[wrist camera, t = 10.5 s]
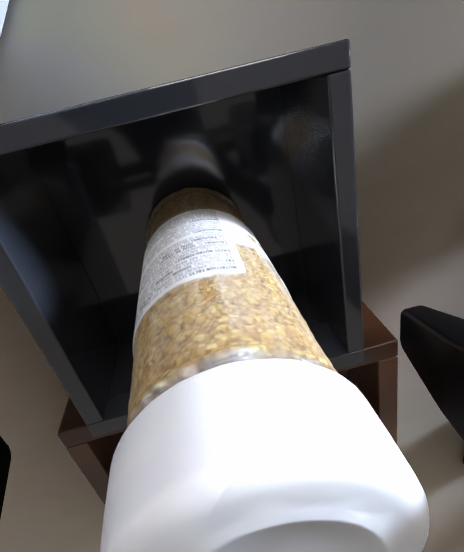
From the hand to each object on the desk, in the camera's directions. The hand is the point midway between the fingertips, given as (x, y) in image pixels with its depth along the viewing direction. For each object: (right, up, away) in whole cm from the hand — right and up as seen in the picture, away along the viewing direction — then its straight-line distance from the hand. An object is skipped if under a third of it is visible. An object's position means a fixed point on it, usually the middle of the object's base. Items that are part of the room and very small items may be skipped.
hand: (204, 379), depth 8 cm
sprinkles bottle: (-1, +4, +9) cm, 10 cm away
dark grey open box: (-1, +5, +9) cm, 10 cm away
